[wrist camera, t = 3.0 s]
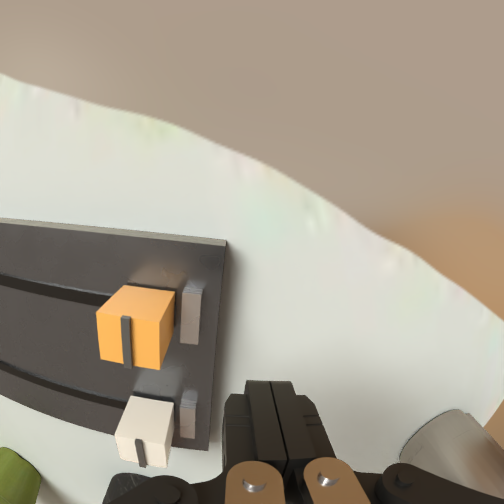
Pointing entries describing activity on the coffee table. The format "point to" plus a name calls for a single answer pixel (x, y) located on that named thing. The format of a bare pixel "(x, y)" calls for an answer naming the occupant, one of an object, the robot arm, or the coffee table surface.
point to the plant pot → (17, 479)
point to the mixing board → (85, 322)
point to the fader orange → (136, 326)
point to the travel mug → (122, 485)
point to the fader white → (146, 432)
